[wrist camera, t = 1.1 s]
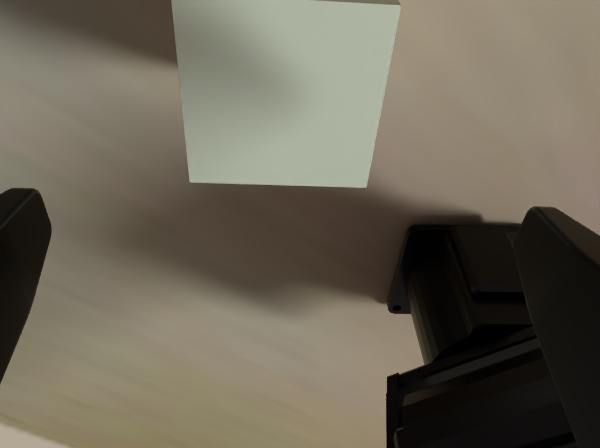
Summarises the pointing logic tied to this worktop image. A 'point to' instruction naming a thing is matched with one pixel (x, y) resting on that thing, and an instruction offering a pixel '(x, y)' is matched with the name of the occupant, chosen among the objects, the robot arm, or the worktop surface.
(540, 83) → the worktop surface
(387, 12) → the cream block
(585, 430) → the robot arm
